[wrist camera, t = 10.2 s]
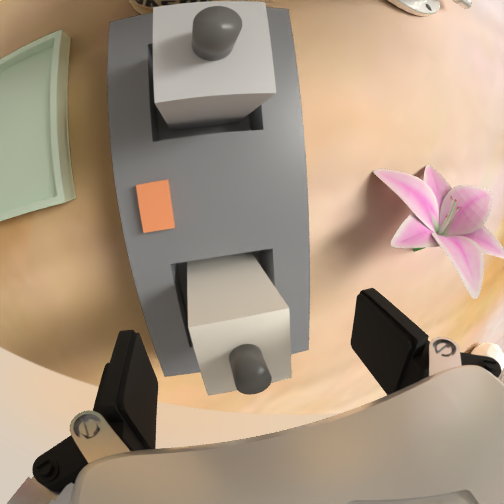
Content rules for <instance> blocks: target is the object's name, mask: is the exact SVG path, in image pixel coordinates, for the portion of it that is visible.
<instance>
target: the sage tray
mask: <svg viewBox="0 0 504 504" xmlns="http://www.w3.org/2000/svg"><path fill="white" fill-rule="evenodd" d="M70 44H71V37H70V36H69V35H68V34H67V33H66V32H65V31H64V30H63V29H61V30H58V31H56V32H53V33H51V34H49V35H46V36H44V37H42V38H40V39H38V40H36V41H34V42H31V43H29V44H27V45H25V46H23V47H22V48H20V49H18V50H16V51H14V52H12V53H11V54H9V55H7V56H5V57H4V58H2V59H0V221H3V220H6V219H9V218H12V217H15V216H19V215H22V214H25V213H29V212H32V211H35V210H39V209H42V208H46V207H50V206H53V205H57V204H61V203H65V202H68V201H70V200H73V199H76V195H75V189H74V182H73V174H72V166H71V157H70V145H69V130H68V68H69V54H70Z"/></svg>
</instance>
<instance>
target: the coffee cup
mask: <svg viewBox="0 0 504 504" xmlns="http://www.w3.org/2000/svg"><path fill="white" fill-rule="evenodd" d="M128 1H129V2H130V4H131V5H132V7H133V8H134V9H135V10H136V11H137V12H139V13H140V14H142V15H143V14H149V13H153V7H159V6H166V5H173V4H182V3H193V2H208V1H227V0H128Z"/></svg>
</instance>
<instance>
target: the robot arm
mask: <svg viewBox="0 0 504 504" xmlns="http://www.w3.org/2000/svg"><path fill="white" fill-rule="evenodd" d="M388 1H389V2H391V3H392V4H394V5H395V6H397V7H399V8H401V9H403V10H405V11H407V12H409V13H412V14H414V15H418V16H429V15H431V14H434V13H436V12H437V11H438V10H439V8H440V0H388ZM453 1H454V2H456V3H457V4H458V5H460V6H461V7H463V8H465V9H468V8H470V7H471V4H472V3H471V0H453ZM428 337H429V336H428V335H427V334H426V333H425V332H424V331H422V330H421V329H420V328H419V327H418V326H417V325H416V324H415V323H413V322H412V321H411V320H410V319H409V318H408V317H407V316H406V315H404V314H403V313H402V312H401V311H400V310H399V309H397V308H396V307H395V306H394V305H393V304H392V303H391V302H389V301H388V300H387V299H386V298H385V297H384V296H382V295H381V294H380V293H379V292H378V291H376V290H375V289H374V288H370V289H366V290H362V291H361V292H360V294H359V295H358V296H357V300H356V309H355V316H354V323H353V330H352V337H351V346H352V349H353V350H354V351H355V353H356V354H357V355H358V357H359V358H360V359H361V360H362V362H363V363H364V364H365V366H366V367H367V368H368V370H369V371H370V372H371V374H372V375H373V376H374V378H375V379H376V380H377V382H378V383H379V384H380V386H381V387H382V388H383V390H384V391H385V392H386V394H387V396H385V397H383V398H380V399H378V400H375V401H373V402H371V403H368V404H365V405H363V406H360V407H358V408H355V409H352V410H349V411H347V412H344V413H341V414H338V415H335V416H332V417H329V418H326V419H323V420H320V421H316V422H313V423H310V424H306V425H302V426H299V427H295V428H291V429H287V430H283V431H280V432H275V433H271V434H266V435H261V436H256V437H251V438H246V439H240V440H235V441H228V442H221V443H215V444H206V445H197V446H189V447H177V448H162V449H155V442H156V441H155V440H156V414H157V396H158V381H157V378H156V375H155V373H154V371H153V368H152V366H151V363H150V361H149V358H148V356H147V353H146V350H145V348H144V345H143V342H142V340H141V337H140V334H139V333H135V331H134V330H125V331H120V332H119V335H118V338H117V341H116V344H115V347H114V351H113V354H112V357H111V361H110V363H107V364H106V366H105V368H104V371H103V375H102V378H101V382H100V385H99V389H98V393H97V397H96V400H95V404H94V408H93V411H84V412H81V413H79V414H78V415H77V416H75V417H74V419H73V420H72V421H71V424H70V432H71V436H69V437H68V438H67V439H65V440H63V441H62V442H61V443H59V444H58V445H56V446H55V447H53V448H52V449H50V450H49V451H47V452H45V453H44V454H42V455H41V456H39V457H38V458H37V459H36V460H35V462H34V464H33V475H34V476H33V477H32V479H31V478H29V477H28V478H27V479H26V481H25V482H24V483H23V484H22V485H21V487H20V488H19V489H18V490H17V492H16V493H15V494H14V495H13V497H12V498H11V499H10V500H9V502H8V503H7V504H504V368H503V370H501V366H500V364H499V363H498V362H497V361H496V360H495V359H494V358H492V357H488V356H481V355H474V354H468V353H461V352H460V349H459V346H458V345H457V343H456V342H455V341H453V340H452V339H449V338H446V337H437V338H434V339H433V340H431V342H429V341H428Z"/></svg>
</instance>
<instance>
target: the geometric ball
mask: <svg viewBox="0 0 504 504" xmlns="http://www.w3.org/2000/svg"><path fill="white" fill-rule="evenodd" d="M470 354H474V355H481V356H488V357H492V358H494V359H495V360H496V361H497V362H498V363H499V364H500V366H501V370H503V366H504V354H503V352H502V351H501V349H500V347H499V346H498V344H494V343H490V342H485V343H483V344H481V345H479V346H477V347H475V348H474V349H473V350H472V352H471V353H470Z"/></svg>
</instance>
